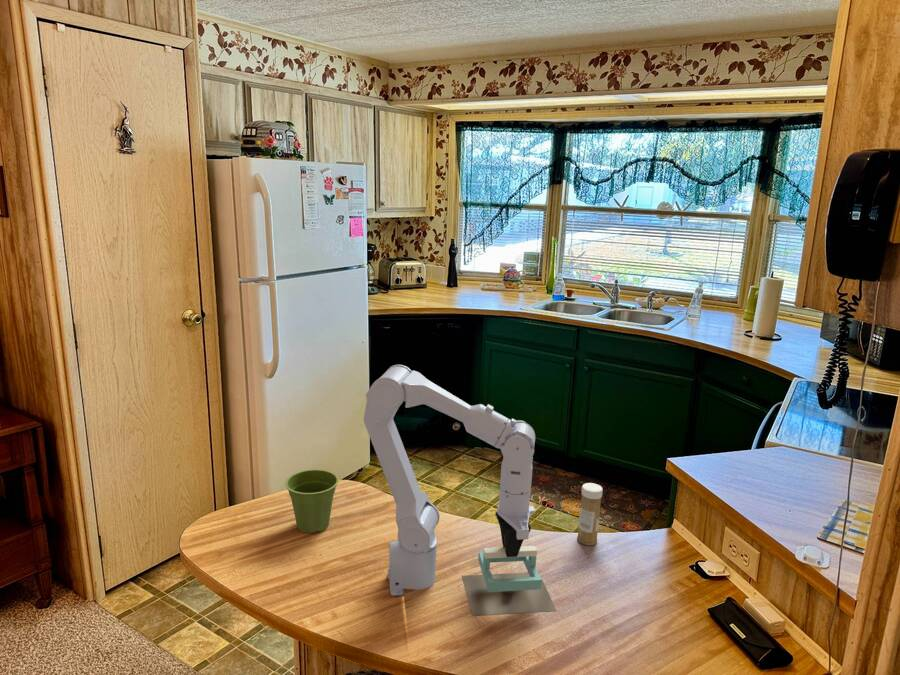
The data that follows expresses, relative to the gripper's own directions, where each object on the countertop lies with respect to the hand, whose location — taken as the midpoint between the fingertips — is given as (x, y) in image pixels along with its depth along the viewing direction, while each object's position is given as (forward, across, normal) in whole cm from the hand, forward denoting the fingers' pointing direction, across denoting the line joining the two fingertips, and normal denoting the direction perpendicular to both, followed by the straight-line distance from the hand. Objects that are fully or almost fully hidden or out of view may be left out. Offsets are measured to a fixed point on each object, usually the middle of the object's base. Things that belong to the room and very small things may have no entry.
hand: (510, 552), depth 117 cm
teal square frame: (+5, 0, 0) cm, 5 cm away
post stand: (+10, 0, 0) cm, 10 cm away
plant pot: (+10, +29, +39) cm, 50 cm away
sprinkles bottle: (+10, +18, -23) cm, 31 cm away
